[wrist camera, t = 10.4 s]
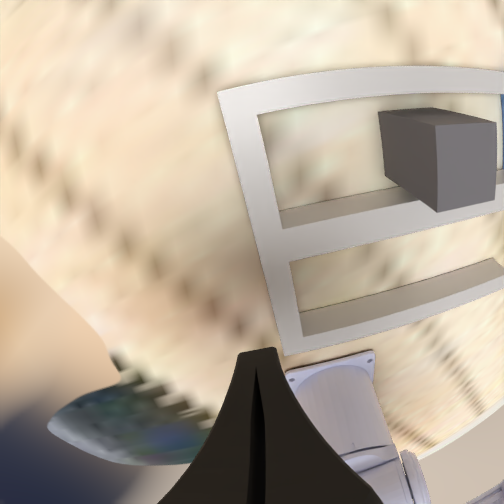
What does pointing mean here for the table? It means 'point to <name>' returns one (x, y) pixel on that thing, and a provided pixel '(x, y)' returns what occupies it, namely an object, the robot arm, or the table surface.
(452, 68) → the grey blue slatted frame
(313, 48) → the table surface
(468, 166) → the dark gray block
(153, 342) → the table surface
